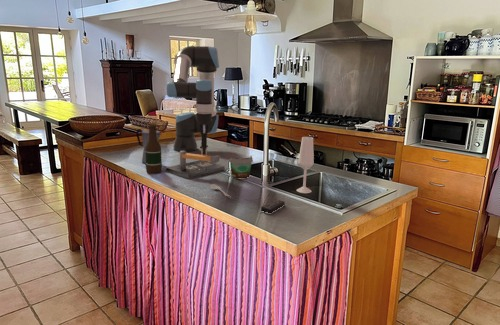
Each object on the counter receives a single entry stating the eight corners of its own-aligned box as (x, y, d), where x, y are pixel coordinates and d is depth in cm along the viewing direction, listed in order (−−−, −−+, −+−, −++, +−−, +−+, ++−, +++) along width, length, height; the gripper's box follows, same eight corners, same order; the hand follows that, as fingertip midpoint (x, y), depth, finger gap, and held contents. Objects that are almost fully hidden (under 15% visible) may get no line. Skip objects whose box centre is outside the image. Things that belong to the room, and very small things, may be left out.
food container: (234, 180, 177) (234, 160, 174) (228, 177, 182) (229, 157, 180) (256, 178, 183) (257, 158, 180) (251, 174, 188) (251, 155, 185)
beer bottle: (165, 170, 190) (163, 124, 184) (156, 174, 183) (154, 126, 177) (151, 169, 193) (150, 123, 186) (143, 173, 185) (140, 125, 179)
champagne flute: (296, 192, 163) (299, 138, 157) (296, 187, 170) (300, 135, 164) (311, 193, 162) (315, 139, 156) (311, 188, 169) (315, 136, 163)
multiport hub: (284, 207, 147) (285, 201, 147) (270, 215, 138) (270, 209, 138) (275, 204, 150) (275, 199, 149) (260, 212, 141) (260, 207, 140)
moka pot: (158, 165, 200) (157, 128, 195) (132, 163, 203) (130, 126, 198) (166, 161, 209) (165, 125, 204) (140, 159, 212) (139, 124, 207)
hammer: (219, 172, 182) (219, 154, 179) (214, 174, 177) (214, 156, 175) (183, 167, 188) (182, 150, 186) (178, 169, 184) (177, 152, 182)
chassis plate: (202, 163, 207) (202, 158, 206) (224, 169, 195) (224, 165, 194) (165, 171, 189) (165, 166, 189) (188, 179, 178) (188, 174, 177)
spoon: (216, 186, 169) (216, 183, 169) (239, 201, 152) (239, 197, 152) (208, 188, 167) (208, 184, 167) (230, 202, 150) (230, 198, 150)
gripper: (196, 110, 184) (196, 157, 190) (195, 114, 171) (196, 163, 177) (211, 111, 185) (211, 157, 191) (212, 114, 172) (212, 163, 178)
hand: (204, 160), depth 184 cm, fingers closed
